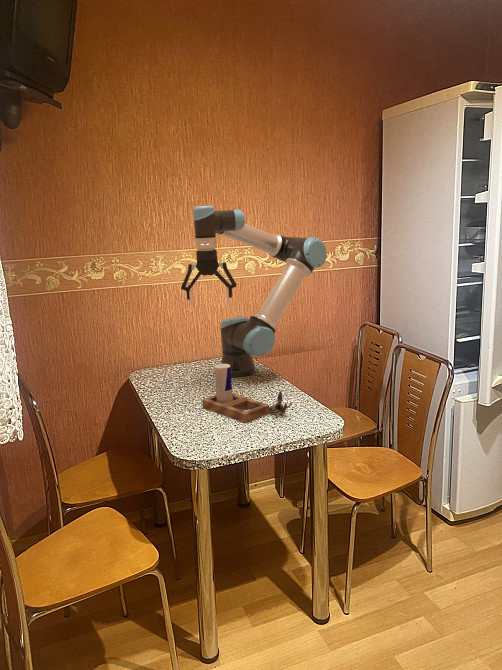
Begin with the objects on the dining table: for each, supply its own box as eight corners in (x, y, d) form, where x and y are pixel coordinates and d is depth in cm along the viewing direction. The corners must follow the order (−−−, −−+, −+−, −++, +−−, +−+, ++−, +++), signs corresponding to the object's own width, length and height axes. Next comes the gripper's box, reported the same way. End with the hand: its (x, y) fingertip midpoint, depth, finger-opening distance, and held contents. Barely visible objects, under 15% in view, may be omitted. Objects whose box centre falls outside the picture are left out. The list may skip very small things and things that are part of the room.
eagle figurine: (298, 410, 183) (286, 397, 191) (288, 396, 179) (276, 384, 187) (280, 425, 182) (269, 411, 190) (269, 411, 179) (258, 398, 186)
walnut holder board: (202, 407, 193) (202, 399, 193) (226, 399, 201) (226, 391, 200) (245, 423, 177) (245, 414, 177) (269, 413, 185) (269, 404, 184)
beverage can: (231, 409, 190) (228, 367, 186) (215, 409, 191) (212, 367, 187) (234, 404, 195) (232, 363, 192) (219, 403, 196) (216, 363, 193)
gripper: (170, 252, 197) (175, 310, 202) (240, 248, 196) (243, 307, 201) (173, 250, 205) (178, 307, 209) (241, 247, 204) (244, 304, 208)
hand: (210, 307), depth 205 cm, fingers open, 13 cm apart
